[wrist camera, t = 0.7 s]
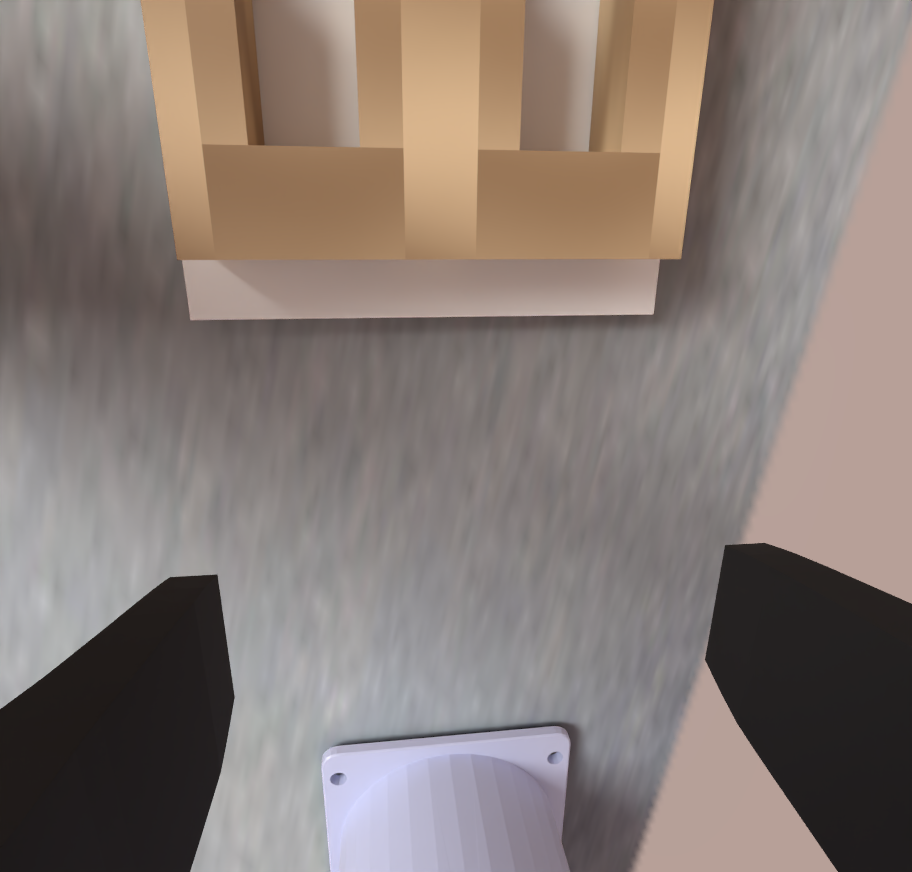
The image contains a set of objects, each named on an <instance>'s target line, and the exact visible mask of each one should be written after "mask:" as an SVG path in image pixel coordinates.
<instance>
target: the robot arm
mask: <svg viewBox="0 0 912 872" xmlns="http://www.w3.org/2000/svg"><path fill="white" fill-rule="evenodd" d="M705 661H706V663H707V664H708V667H709V669H710V671H711V673H712V675H713V677H714V679H715V681H716V683H717V685H718V687H719V689H720V691H721V694H722V696H723V697H724V699H725V701H726V703H727V705H728V707H729V708H730V711H731V712H732V714H733V716H734V718H735V720H736V722H737V724H738V725H739V727H740V728H741V730H742V731H743V733H744V735H745V736H746V738H747V739H748V741H749V742H750V744H751V745H752V747H753V748H754V749H755V751H756V753H757V754H758V756H759V757H760V758H761V760H762V761H763V763H764V764H765V766H766V767H767V769H768V770H769V772H770V773H771V775H772V776H773V778H774V779H775V781H776V782H777V783H778V785H779V787H780V788H781V789H782V791H783V792H784V794H785V795H786V797H787V798H788V800H789V801H790V802H791V804H792V805H793V807H794V808H795V810H796V811H797V813H798V814H799V816H800V817H801V819H802V820H803V822H804V823H805V824H806V826H807V827H808V829H809V830H810V832H811V833H812V835H813V836H814V837H815V839H816V840H817V842H818V843H819V845H820V846H821V848H822V849H823V851H824V852H825V854H826V855H827V857H828V858H829V859H830V861H831V862H832V864H833V865H834V867H835V868H836V870H837V871H838V872H912V604H911V603H909V602H906V601H904V600H902V599H899V598H897V597H895V596H892V595H890V594H888V593H886V592H884V591H881V590H879V589H877V588H874V587H872V586H870V585H867V584H865V583H863V582H861V581H859V580H856V579H854V578H852V577H849V576H847V575H845V574H843V573H840V572H838V571H836V570H833V569H831V568H829V567H826V566H824V565H822V564H819V563H817V562H814V561H812V560H809V559H807V558H805V557H802V556H800V555H797V554H795V553H792V552H789V551H787V550H784V549H781V548H778V547H775V546H772V545H769V544H766V543H757V544H739V545H725V550H724V555H723V561H722V567H721V572H720V578H719V584H718V589H717V595H716V601H715V606H714V612H713V618H712V624H711V629H710V635H709V641H708V646H707V652H706V658H705ZM233 703H234V690H233V683H232V676H231V669H230V662H229V655H228V647H227V640H226V633H225V626H224V619H223V612H222V605H221V597H220V590H219V583H218V576H217V575H202V576H185V577H170V578H168V579H167V580H165V581H164V582H163V583H161V584H160V585H158V586H157V587H156V588H155V589H153V590H152V591H151V592H149V593H148V594H147V595H146V596H144V597H143V598H142V599H141V600H139V601H138V602H137V603H136V604H134V605H133V606H132V607H131V608H129V609H128V610H127V611H126V612H125V613H123V614H122V615H121V616H120V617H118V618H117V619H116V620H115V621H114V622H112V623H111V624H110V625H109V626H107V627H106V628H105V629H104V630H103V631H101V632H100V633H99V634H97V635H96V636H95V637H94V638H92V639H91V640H90V641H89V642H87V643H86V644H85V645H84V646H82V647H81V648H80V649H79V650H77V651H76V652H75V653H74V654H72V655H71V656H70V657H69V658H67V659H66V660H65V661H64V662H62V663H61V664H60V665H59V666H57V667H56V668H55V669H54V670H52V671H51V672H50V673H49V674H47V675H46V676H45V677H43V678H42V679H41V680H39V681H38V682H37V683H35V684H34V685H33V686H31V687H30V688H29V689H27V690H26V691H24V692H23V693H22V694H20V695H19V696H18V697H16V698H15V699H14V700H12V701H11V702H10V703H8V704H7V705H5V706H4V707H3V708H1V709H0V872H190V870H191V867H192V864H193V861H194V857H195V854H196V851H197V848H198V845H199V842H200V838H201V835H202V832H203V829H204V825H205V822H206V819H207V816H208V812H209V809H210V806H211V803H212V799H213V796H214V793H215V789H216V786H217V783H218V779H219V776H220V773H221V768H222V763H223V758H224V753H225V748H226V743H227V737H228V732H229V726H230V720H231V715H232V709H233ZM570 745H571V743H570V738H569V736H568V733H567V731H566V730H565V729H564V728H562V727H560V726H550V727H539V728H528V729H517V730H506V731H495V732H484V733H473V734H462V735H451V736H440V737H429V738H418V739H407V740H396V741H385V742H374V743H363V744H352V745H341V746H335V747H331V748H329V749H328V750H326V751H325V753H324V754H323V758H322V767H321V768H322V779H323V791H324V802H325V813H326V825H327V836H328V848H329V859H330V871H331V872H570V869H569V866H568V862H567V859H566V856H565V852H564V849H563V845H562V842H561V841H562V830H563V819H564V809H565V798H566V787H567V777H568V766H569V755H570ZM553 752H556V753H554V754H551V753H553ZM336 773H343V774H341V775H336Z"/></svg>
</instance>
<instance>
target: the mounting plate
mask: <svg viewBox="0 0 912 872" xmlns="http://www.w3.org/2000/svg"><path fill="white" fill-rule="evenodd" d="M252 7H253V18H254V29H255V41H256V52H257V63H258V75H259V86H260V97H261V109H262V120H263V131H264V142H265V146H318V147H360V138H359V113H358V89H357V64H356V39H355V15H354V0H252ZM599 7H600V0H526V2H525V27H524V52H523V77H522V102H521V127H520V150H528V151H581V152H589V140H590V127H591V114H592V100H593V87H594V74H595V60H596V47H597V34H598V20H599ZM182 263H183V270H184V277H185V284H186V292H187V299H188V306H189V313H190V320H247V319H327V318H406V317H486V316H565V315H644V314H654V306H655V297H656V289H657V280H658V272H659V263H660V259H443V260H182Z"/></svg>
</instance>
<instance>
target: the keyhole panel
mask: <svg viewBox="0 0 912 872" xmlns="http://www.w3.org/2000/svg"><path fill="white" fill-rule="evenodd" d="M525 2H526V0H354V15H355V39H356V64H357V89H358V113H359V138H360V147H318V146H265V142H264V131H263V120H262V109H261V97H260V86H259V75H258V63H257V52H256V41H255V29H254V18H253V7H252V0H141V6H142V13H143V20H144V27H145V35H146V42H147V49H148V56H149V63H150V70H151V77H152V84H153V91H154V99H155V106H156V113H157V120H158V127H159V134H160V141H161V148H162V155H163V163H164V170H165V177H166V184H167V191H168V198H169V205H170V212H171V219H172V227H173V234H174V241H175V248H176V255H177V260H443V259H681V254H682V246H683V238H684V231H685V223H686V215H687V207H688V199H689V192H690V184H691V176H692V168H693V161H694V153H695V145H696V137H697V129H698V122H699V114H700V106H701V98H702V90H703V83H704V75H705V67H706V59H707V52H708V44H709V36H710V28H711V20H712V13H713V5H714V0H600V7H599V20H598V34H597V47H596V60H595V74H594V87H593V100H592V114H591V127H590V140H589V152H581V151H528V150H520V127H521V102H522V77H523V52H524V27H525Z"/></svg>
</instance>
